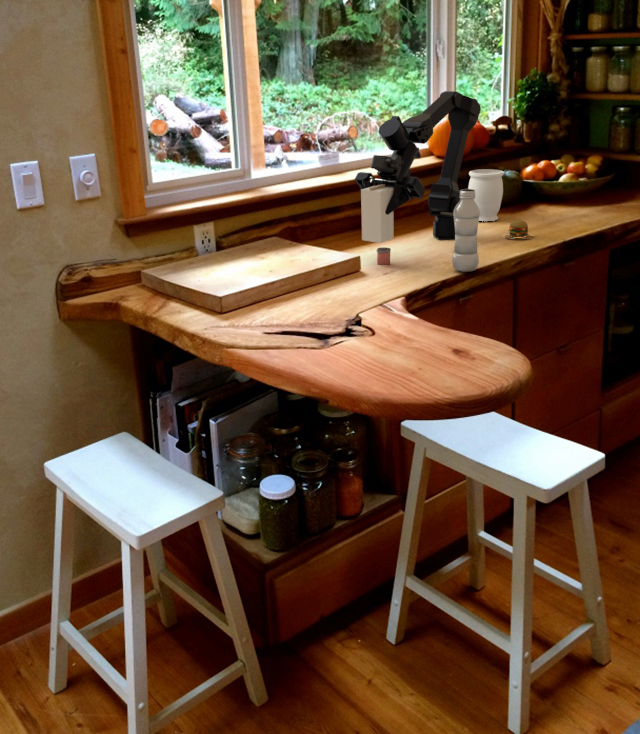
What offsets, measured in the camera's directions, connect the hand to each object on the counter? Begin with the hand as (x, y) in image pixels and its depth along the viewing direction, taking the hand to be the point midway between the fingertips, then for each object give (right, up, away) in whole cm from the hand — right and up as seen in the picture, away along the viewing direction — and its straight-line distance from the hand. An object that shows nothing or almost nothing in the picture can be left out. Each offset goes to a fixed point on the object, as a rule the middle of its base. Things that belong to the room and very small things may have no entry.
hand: (376, 212), depth 208 cm
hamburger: (+43, -3, +27) cm, 50 cm away
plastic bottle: (+22, -16, -4) cm, 27 cm away
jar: (+37, +7, +49) cm, 62 cm away
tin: (+2, -13, +4) cm, 14 cm away
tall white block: (+1, -6, +3) cm, 7 cm away
